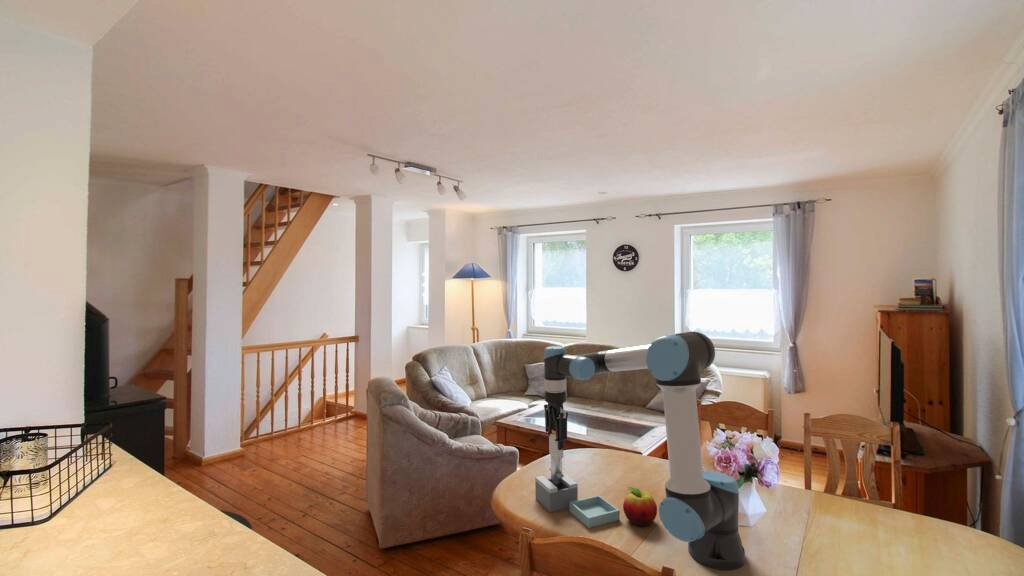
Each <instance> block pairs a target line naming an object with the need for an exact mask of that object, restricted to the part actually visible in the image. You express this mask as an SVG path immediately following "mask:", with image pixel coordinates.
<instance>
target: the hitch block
mask: <svg viewBox="0 0 1024 576" xmlns="http://www.w3.org/2000/svg"><path fill="white" fill-rule="evenodd" d="M562 473H563V474H564V477H562V483H560V484H554V483H552V482H551V477H548V478H547V477H546V476H544V475H538V476H535V478H534V480H535V484H534V485H535V500H536V501H537V502H538V503H540V505H542V506H543V508H545V509H546V510H547V511H548V512H549V513H553V512H557V511H558V512H559V511H563V510H566V509H569V502H571V501H576V500H579V499H578V498H579V497H578V495H579V493H578V492H579V491H578V489H579V487H578V486H579V484H578V482H576V481H575V480H574V479H572V477H570V476H568V474H566V473H564V472H563V471H562Z"/></svg>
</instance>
